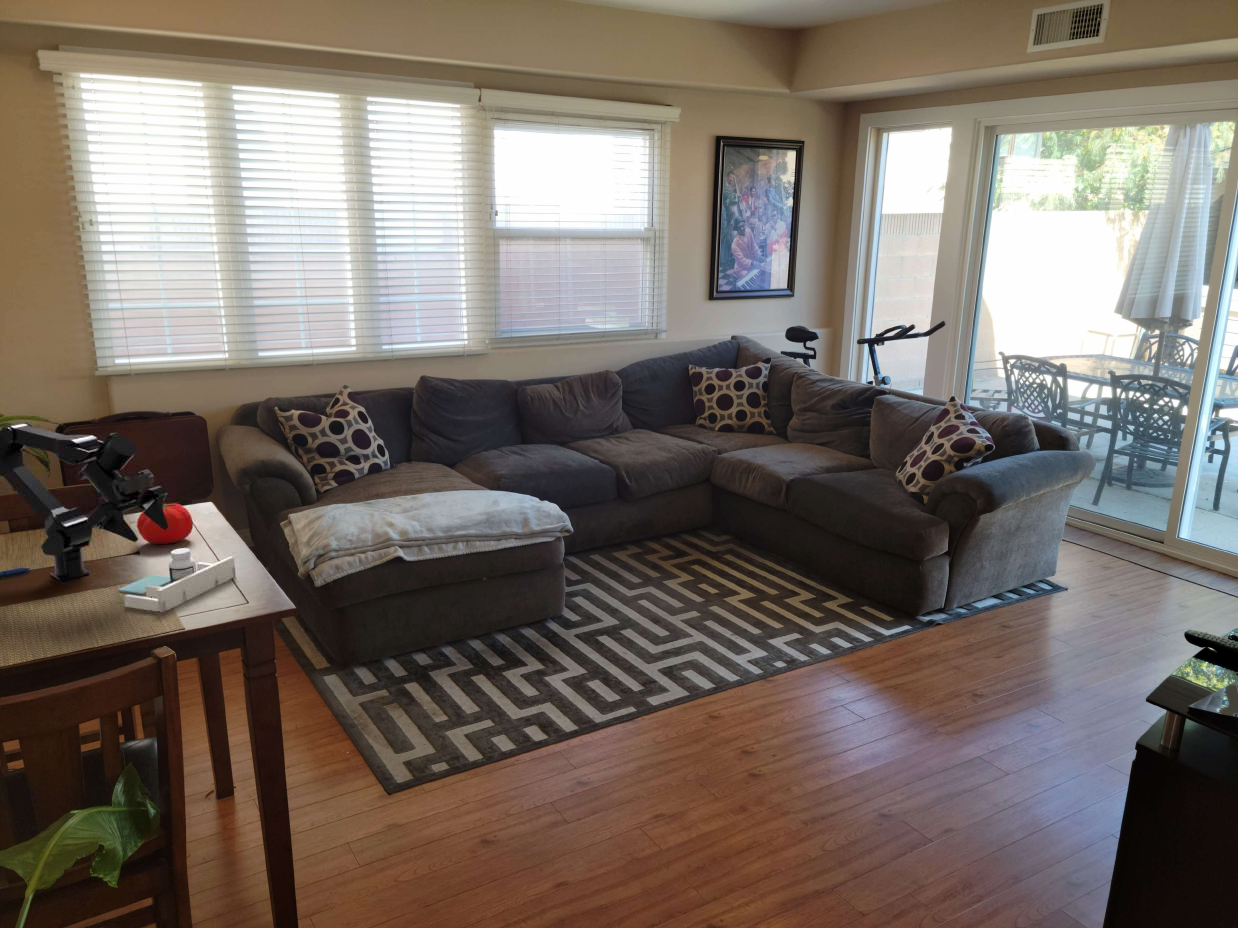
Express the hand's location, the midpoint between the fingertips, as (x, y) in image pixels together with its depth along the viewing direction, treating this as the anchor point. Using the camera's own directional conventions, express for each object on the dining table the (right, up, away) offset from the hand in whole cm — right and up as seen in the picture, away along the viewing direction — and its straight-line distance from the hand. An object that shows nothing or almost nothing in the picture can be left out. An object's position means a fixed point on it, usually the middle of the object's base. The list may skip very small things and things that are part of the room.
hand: (152, 534), depth 204 cm
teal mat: (-3, -12, +3) cm, 13 cm away
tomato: (-14, -5, +34) cm, 37 cm away
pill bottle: (+7, -13, 0) cm, 15 cm away
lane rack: (+7, -13, +1) cm, 15 cm away
